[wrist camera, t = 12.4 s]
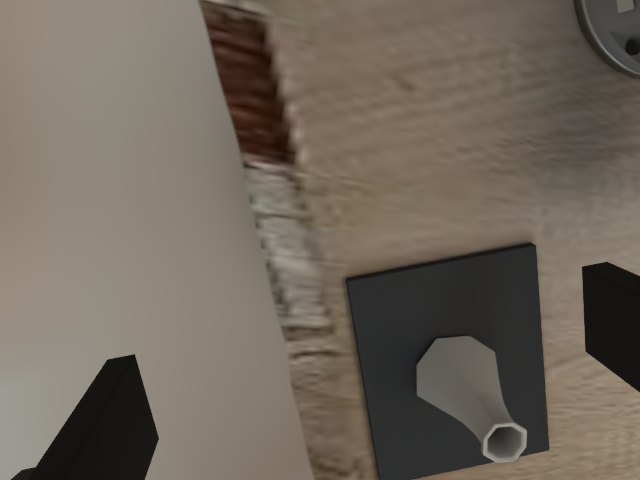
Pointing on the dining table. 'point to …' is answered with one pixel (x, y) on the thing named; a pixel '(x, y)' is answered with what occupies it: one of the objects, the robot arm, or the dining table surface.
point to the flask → (471, 394)
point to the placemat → (443, 322)
